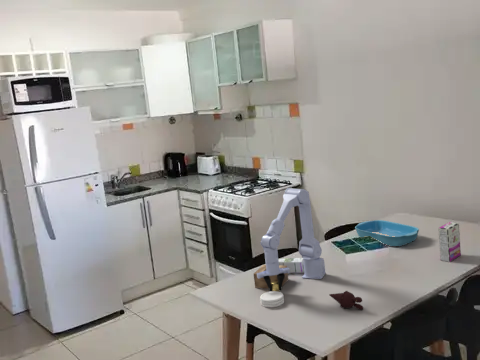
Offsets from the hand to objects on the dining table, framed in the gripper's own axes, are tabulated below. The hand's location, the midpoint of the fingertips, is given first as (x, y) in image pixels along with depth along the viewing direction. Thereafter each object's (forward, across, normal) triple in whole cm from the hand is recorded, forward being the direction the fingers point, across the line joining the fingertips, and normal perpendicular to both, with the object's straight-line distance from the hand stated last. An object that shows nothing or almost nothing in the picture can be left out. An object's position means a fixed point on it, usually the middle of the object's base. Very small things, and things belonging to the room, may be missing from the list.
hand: (275, 290), depth 228 cm
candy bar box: (+2, -88, -2) cm, 88 cm away
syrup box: (-2, -7, -27) cm, 28 cm away
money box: (+1, -2, -12) cm, 13 cm away
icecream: (+2, -22, +26) cm, 34 cm away
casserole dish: (+2, -76, -44) cm, 88 cm away
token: (+1, 0, 0) cm, 1 cm away
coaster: (+2, +4, +8) cm, 9 cm away
